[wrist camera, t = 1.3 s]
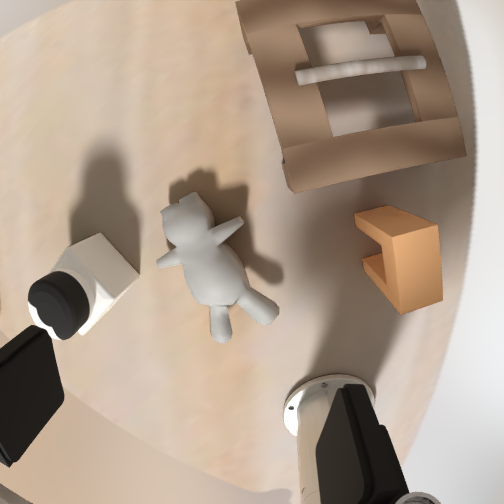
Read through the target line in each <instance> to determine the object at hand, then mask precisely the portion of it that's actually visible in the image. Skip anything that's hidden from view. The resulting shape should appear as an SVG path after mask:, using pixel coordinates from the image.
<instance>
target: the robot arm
mask: <svg viewBox="0 0 504 504" xmlns="http://www.w3.org/2000/svg"><path fill="white" fill-rule="evenodd" d="M63 401H64V391H63V387H62V384H61V380H60V376H59V372H58V367H57V363H56V358H55V354H54V349H53V344H52V339H51V336H50V335H49V334H48V331H47V330H46V329H44V328H41V327H38V326H35V325H31V326H29V327H28V328H26V329H25V330H24V331H22V332H21V333H20V334H18V335H17V336H16V337H14V338H13V339H12V340H11V341H9V342H8V343H7V344H5V345H4V346H3V347H2V348H0V462H1V463H3V464H4V465H6V466H8V467H10V466H11V465H12V464H13V462H17V461H18V460H19V459H20V457H21V456H22V455H23V453H24V452H25V451H26V449H27V448H28V447H29V445H30V444H31V443H32V441H33V440H34V439H35V438H36V436H37V435H38V434H39V432H40V431H41V430H42V429H43V427H44V426H45V425H46V424H47V422H48V421H49V420H50V418H51V417H52V416H53V414H54V413H55V412H56V411H57V410H58V408H59V407H60V406H61V405H62V403H63ZM374 407H375V399H374V395H373V392H372V390H371V388H370V387H369V386H368V384H367V383H365V382H364V381H363V380H361V379H359V378H357V377H354V376H350V375H342V374H336V375H327V376H322V377H319V378H316V379H313V380H310V381H308V382H307V383H305V384H303V385H301V386H300V387H299V388H297V389H296V390H295V391H294V392H293V393H292V394H291V395H290V396H289V398H288V399H287V401H286V403H285V405H284V410H283V418H284V423H285V426H286V427H287V429H288V430H289V431H290V432H291V433H292V434H293V435H295V436H297V450H298V464H299V479H300V495H301V504H441V503H440V502H439V501H438V500H437V499H436V498H435V497H433V496H432V495H430V494H427V493H423V492H413V493H409V490H408V487H407V484H406V481H405V478H404V475H403V472H402V470H401V467H400V464H399V461H398V458H397V455H396V453H395V450H394V447H393V444H392V442H391V439H390V436H389V434H388V431H387V429H386V427H385V426H384V425H379V422H378V420H377V417H376V414H375V411H374ZM0 504H33V503H31V502H29V501H27V500H25V499H24V498H22V497H20V496H19V495H17V494H16V493H14V492H13V491H11V490H9V489H8V488H6V487H5V486H3V485H2V484H0Z"/></svg>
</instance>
